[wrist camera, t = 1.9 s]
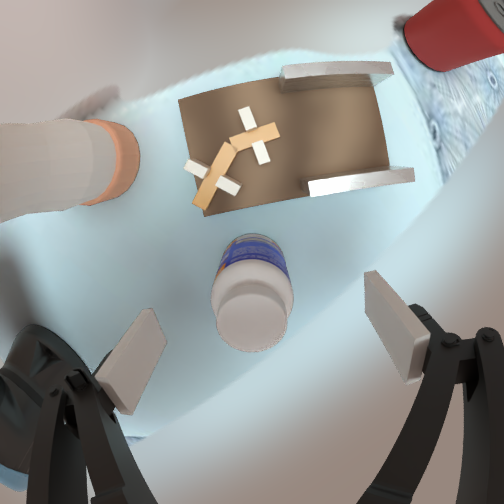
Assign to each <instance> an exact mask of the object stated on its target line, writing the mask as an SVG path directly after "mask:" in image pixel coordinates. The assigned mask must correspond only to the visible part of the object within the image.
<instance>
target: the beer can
mask: <svg viewBox="0 0 504 504" xmlns="http://www.w3.org/2000/svg"><path fill="white" fill-rule="evenodd" d="M404 31H405V37H406V40H407V43H408V45H409V47H410V48H411V50H412V51H413V53H414V54H415V55H416V56H417V57H418V58H419V60H421V61H422V62H423V63H424V64H426V65H427V66H428V67H430V68H432V69H434V70H437V71H442V72H446V71H450V70H452V69H455V68H458V67H461V66H464V65H467V64H470V63H473V62H476V61H479V60H482V59H485V58H488V57H492V56H495V55H499V54H502V53H504V0H433V1H432V2H431V3H429V4H428V5H427V6H425V7H424V8H423V9H422V10H420V11H419V12H418V13H416V14H415V15H414V16H413V17H411V18H410V19H409V20H408V21H407V22H406V24H405V27H404Z"/></svg>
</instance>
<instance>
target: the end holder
mask: <svg viewBox="0 0 504 504" xmlns="http://www.w3.org/2000/svg"><path fill="white" fill-rule="evenodd" d="M392 75H394V72H393V69H392V66H391V63H390V62H377V61H333V62H315V63H303V64H293V65H285V66H282V69H281V73H280V77H279V81H278V84H279V88H280V92H281V94H283V93H290V92H298V91H306V90H316V89H327V88H342V87H373V86H375V85H377V84H378V83H380V82H382V81H384V80H385V79H387V78H389V77H390V76H392ZM299 179H300V185H301V190H302V191H303V192H304V193H306V194H307V195H309V196H310V197H314V196H320V195H326V194H332V193H338V192H344V191H350V190H357V189H363V188H370V187H377V186H384V185H392V184H399V183H407V182H415V175H414V168H411V167H400V166H383V167H374V168H366V169H358V170H350V171H343V172H336V173H330V174H323V175H317V176H311V177H305V178H299Z"/></svg>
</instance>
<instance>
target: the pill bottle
mask: <svg viewBox="0 0 504 504" xmlns="http://www.w3.org/2000/svg"><path fill="white" fill-rule="evenodd" d="M211 306H212V309H213V312H214V314H215V316H216V317H217V318H216V326H217V330H218V333H219V335H220V336H221V338H222V339H223V340H224V341H225V342H226V343H227V344H228V345H230V346H231V347H233V348H235V349H237V350H240V351H245V352H260V351H264V350H267V349H269V348H271V347H273V346H274V345H276V344H277V343H278V342H279V341H280V340H281V339H282V337H283V336H284V334H285V332H286V328H287V318H288V316H289V315H290V313H291V310H292V307H293V290H292V286H291V282H290V278H289V275H288V271H287V268H286V264H285V259H284V256H283V253H282V251H281V249H280V248H279V246H278V245H277V244H276V243H275V242H274V241H273V240H271V239H270V238H268V237H266V236H263V235H259V234H247V235H243V236H240V237H238V238H236V239H235V240H234V241H232V242H231V243H230V244H229V246H228V247H227V248H226V250H225V252H224V254H223V257H222V260H221V263H220V266H219V269H218V272H217V275H216V278H215V281H214V283H213V287H212V291H211Z"/></svg>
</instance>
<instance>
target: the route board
mask: <svg viewBox="0 0 504 504" xmlns="http://www.w3.org/2000/svg"><path fill="white" fill-rule="evenodd" d="M278 81H279V77H275V78H269V79H262V80H257V81H251V82H246V83H241V84H236V85H232V86H227V87H223V88H219V89H215V90H211V91H207V92H203V93H200V94H196V95H193V96H189V97H186V98H182V99H179V100H178V102H179V107H180V112H181V117H182V122H183V127H184V132H185V136H186V141H187V146H188V150H189V155H190V159H197V160H199V161H201V162H202V163H204V164H206V165H208V166H210V167H211V165H212V164H213V162H214V160H215V158H216V156H217V154H218V153H219V151H220V149H221V147H222V146H223V144H224V142H227V143H229V144H231V142H230V139H229V138H230V137H233V136H235V135H238V134H241V133H244V132H246V129H245V127H244V124H243V122H242V119H241V116H240V114H239V111H238V110H239V109H242V108H245V107H248V106H249V107H250V110H251V112H252V115H253V118H254V120H255V123H256V125H257V128H258V127H261V126H264V125H267V124H270V123H273V122H275V125H276V127H277V130H278V132H279V135H280V138H278V139H275V140H272V141H269V142H266V143H264V145H265V148H266V150H267V153H268V156H269V158H270V162H267V163H264V164H261V165H259V162H258V160H257V157H256V154H255V152H254V149H253V147H251V148H248V149H246V150H243V151H240V152H238V154H237V156H236V157H235V159H234V161H233V163H232V164H231V166H230V168H229V170H228V172H227V173H226V175H227V176H229V177H231V178H233V179H235V180H236V181H238V182H240V183H242V186H241V188H240V190H239V191H238V193H237V194H236V196H234V195H232V194H230V193H228V192H226V191H224V190H222V189H221V188H218V190H217V192H216V194H215V196H214V197H213V199H212V201H211V203H210V205H209V207H208V209H206V210H203V209H202V210H203V214H204V217H206V216H210V215H215V214H219V213H224V212H229V211H233V210H238V209H243V208H248V207H253V206H258V205H263V204H268V203H273V202H278V201H283V200H289V199H294V198H300V197H305V196H309V195H307V194H306V193H304V192H303V191H302V190H301V185H300V179H299V178H305V177H311V176H317V175H323V174H330V173H336V172H343V171H350V170H358V169H366V168H374V167H383V166H390V165H389V158H388V152H387V146H386V140H385V135H384V130H383V125H382V120H381V116H380V111H379V107H378V103H377V99H376V95H375V91H374V87H342V88H327V89H316V90H306V91H298V92H290V93H283V94H281V92H280V88H279V84H278ZM231 145H232V144H231ZM194 177H195V181H196V185H197V190H199V188H200V186H201V184H202V182H203V180H204V179H202V178H200V177H198V176H196V175H194Z"/></svg>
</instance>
